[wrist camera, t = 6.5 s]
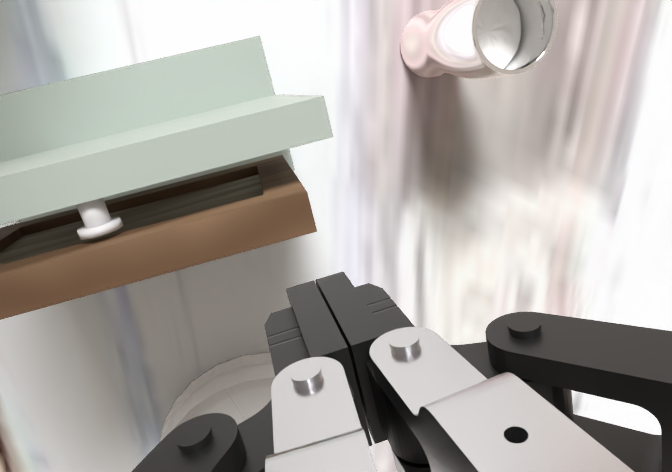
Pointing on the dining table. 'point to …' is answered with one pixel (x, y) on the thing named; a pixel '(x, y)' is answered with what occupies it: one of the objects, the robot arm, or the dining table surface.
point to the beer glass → (479, 38)
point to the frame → (152, 234)
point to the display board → (145, 131)
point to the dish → (225, 391)
